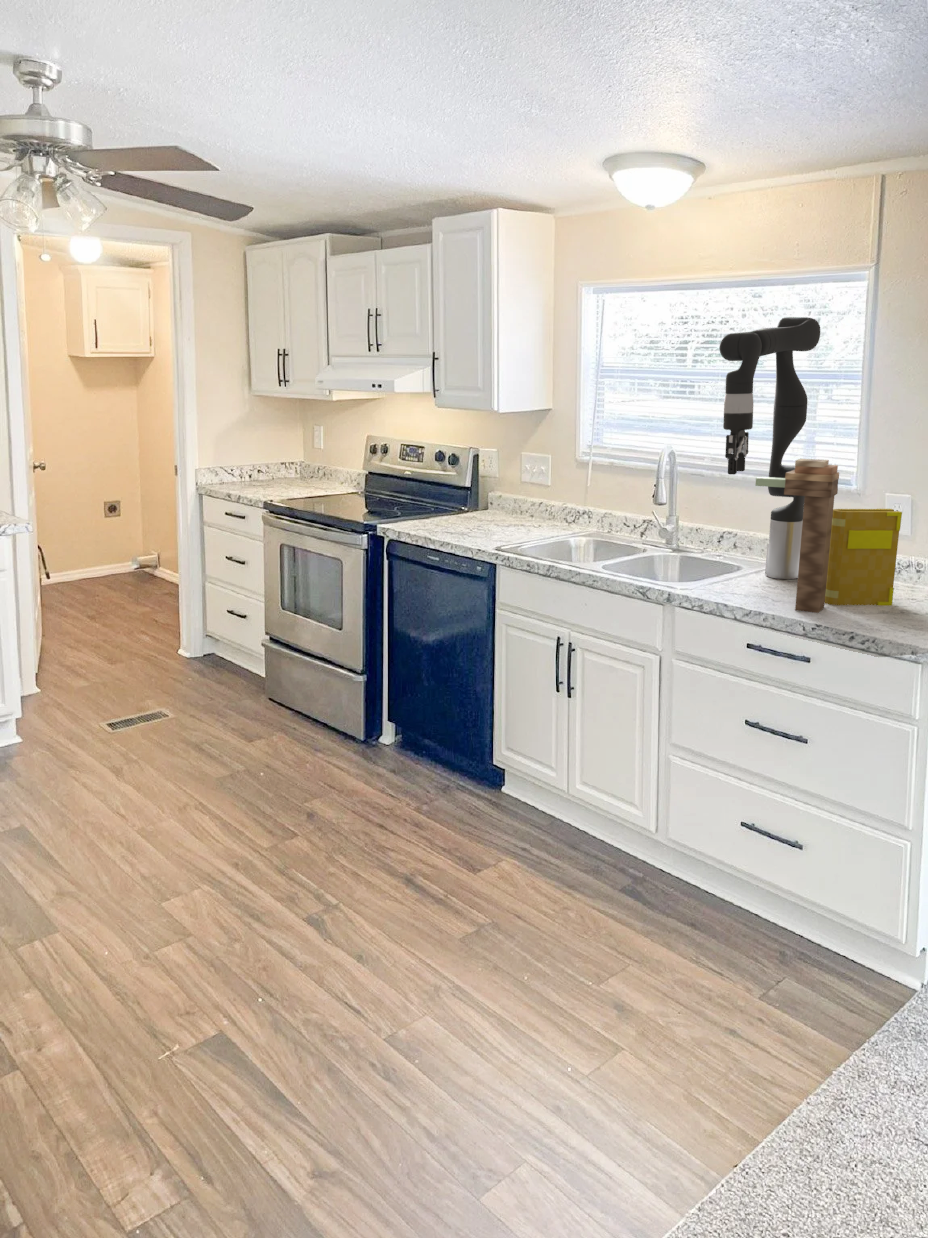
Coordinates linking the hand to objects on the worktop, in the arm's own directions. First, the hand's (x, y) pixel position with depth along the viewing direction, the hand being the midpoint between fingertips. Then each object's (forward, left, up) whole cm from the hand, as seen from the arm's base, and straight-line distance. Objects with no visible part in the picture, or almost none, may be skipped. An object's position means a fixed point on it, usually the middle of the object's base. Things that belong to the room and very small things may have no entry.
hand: (736, 472), depth 279 cm
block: (+14, +8, -3) cm, 17 cm away
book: (+16, +30, -34) cm, 48 cm away
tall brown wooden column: (+17, +12, -34) cm, 40 cm away
